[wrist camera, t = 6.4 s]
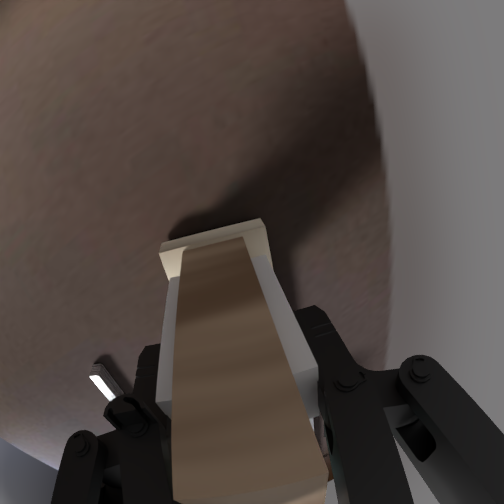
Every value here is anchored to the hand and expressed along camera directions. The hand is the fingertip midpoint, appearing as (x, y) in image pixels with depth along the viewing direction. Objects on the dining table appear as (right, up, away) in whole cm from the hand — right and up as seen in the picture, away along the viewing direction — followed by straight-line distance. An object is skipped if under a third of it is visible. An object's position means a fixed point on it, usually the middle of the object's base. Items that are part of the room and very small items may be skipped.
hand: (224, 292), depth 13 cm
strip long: (+1, -7, +6) cm, 10 cm away
